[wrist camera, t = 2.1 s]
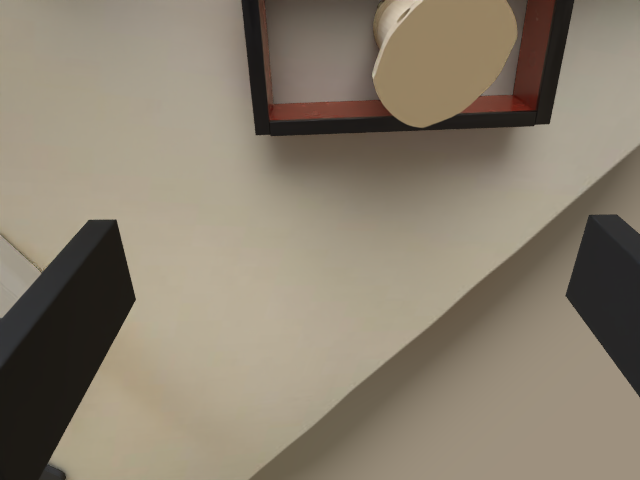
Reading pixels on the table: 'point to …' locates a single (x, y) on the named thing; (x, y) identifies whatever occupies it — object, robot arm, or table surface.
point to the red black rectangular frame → (371, 116)
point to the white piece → (14, 275)
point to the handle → (439, 55)
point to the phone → (52, 474)
